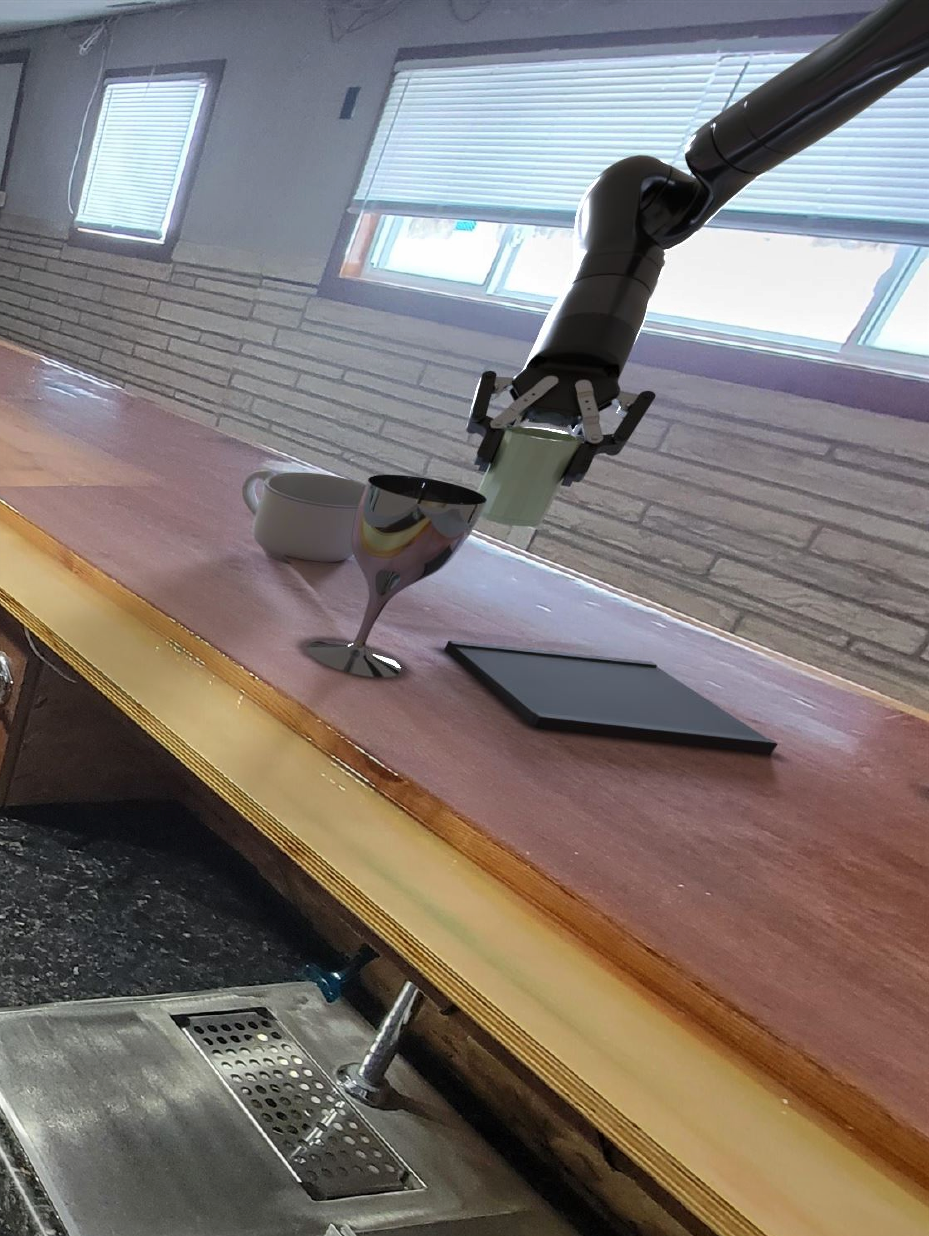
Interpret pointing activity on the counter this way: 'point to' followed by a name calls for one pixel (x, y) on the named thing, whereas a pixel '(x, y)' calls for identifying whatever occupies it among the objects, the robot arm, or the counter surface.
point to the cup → (526, 474)
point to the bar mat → (604, 697)
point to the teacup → (303, 514)
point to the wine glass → (399, 553)
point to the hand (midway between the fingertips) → (525, 474)
